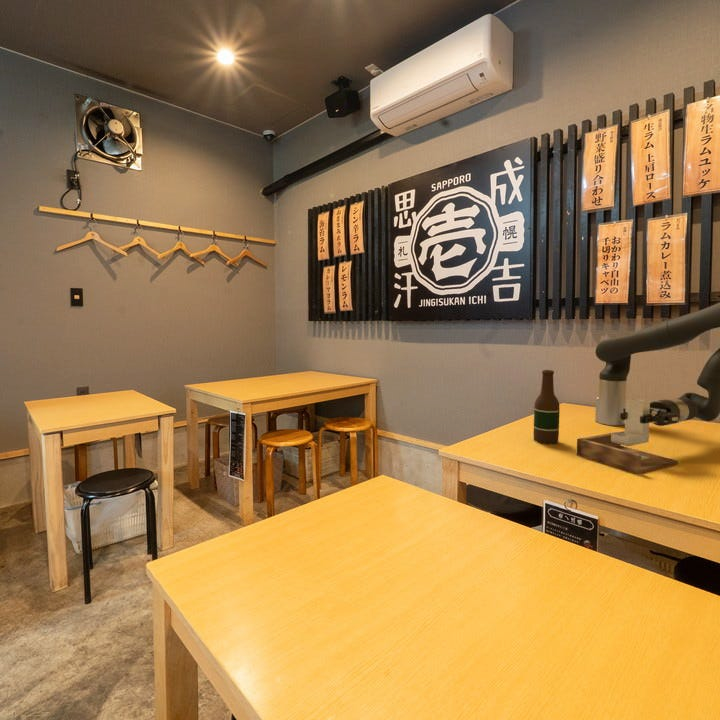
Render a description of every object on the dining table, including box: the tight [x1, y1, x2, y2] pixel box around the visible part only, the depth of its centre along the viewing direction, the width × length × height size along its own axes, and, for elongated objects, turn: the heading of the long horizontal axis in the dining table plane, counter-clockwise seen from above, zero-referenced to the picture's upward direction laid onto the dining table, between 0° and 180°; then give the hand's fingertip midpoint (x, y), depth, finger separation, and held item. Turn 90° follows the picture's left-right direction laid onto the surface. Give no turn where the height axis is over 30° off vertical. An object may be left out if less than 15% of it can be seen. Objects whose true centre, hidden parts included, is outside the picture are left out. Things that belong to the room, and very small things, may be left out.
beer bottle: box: [533, 369, 561, 445], centre depth 143 cm, size 8×8×24 cm
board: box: [576, 445, 679, 475], centre depth 124 cm, size 18×18×1 cm
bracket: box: [610, 397, 651, 447], centre depth 122 cm, size 9×5×12 cm, turn 115°
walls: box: [576, 431, 641, 470], centre depth 124 cm, size 18×18×4 cm
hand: (631, 417), depth 122 cm, fingers closed on bracket, 5 cm apart
